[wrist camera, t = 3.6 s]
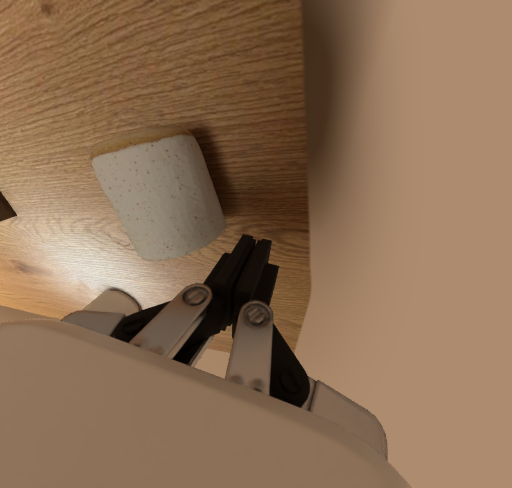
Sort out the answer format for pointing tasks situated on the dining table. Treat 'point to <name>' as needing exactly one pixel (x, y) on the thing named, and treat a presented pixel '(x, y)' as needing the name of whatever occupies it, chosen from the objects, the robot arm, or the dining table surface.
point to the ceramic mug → (160, 191)
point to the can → (113, 303)
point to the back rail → (5, 209)
